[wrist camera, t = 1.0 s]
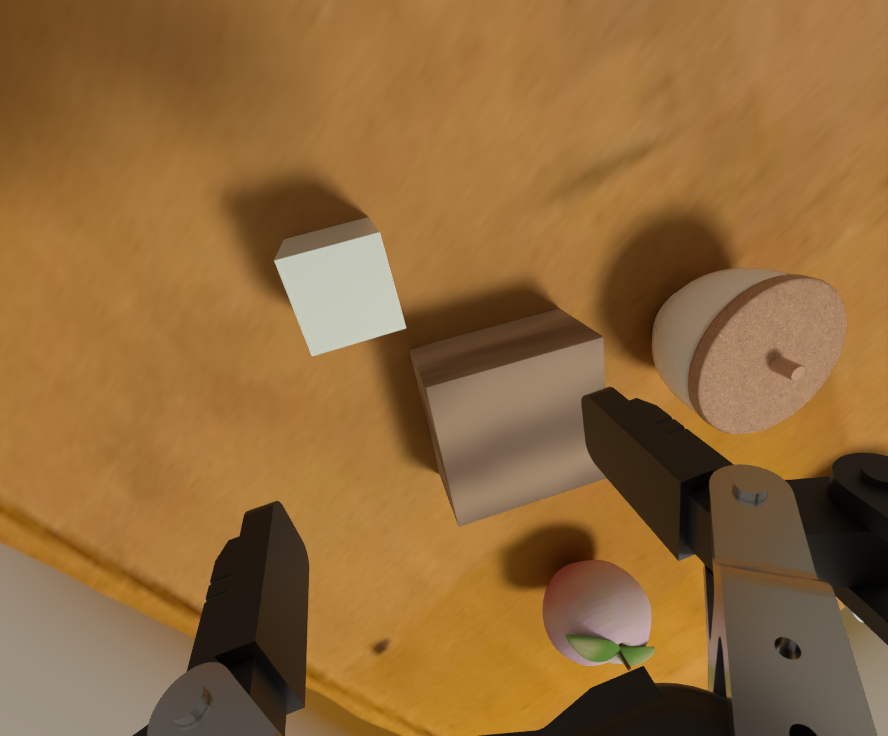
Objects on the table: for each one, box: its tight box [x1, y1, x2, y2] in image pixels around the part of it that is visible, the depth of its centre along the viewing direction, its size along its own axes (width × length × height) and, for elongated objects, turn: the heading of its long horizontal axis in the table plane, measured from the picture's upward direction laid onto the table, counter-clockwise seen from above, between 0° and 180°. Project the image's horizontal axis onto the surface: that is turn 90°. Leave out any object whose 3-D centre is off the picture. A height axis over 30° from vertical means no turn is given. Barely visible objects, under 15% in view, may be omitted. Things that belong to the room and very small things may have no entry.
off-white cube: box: [274, 217, 406, 356], centre depth 25 cm, size 5×5×6 cm
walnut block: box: [409, 308, 606, 526], centre depth 31 cm, size 11×11×6 cm
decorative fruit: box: [543, 560, 655, 670], centre depth 40 cm, size 9×8×10 cm
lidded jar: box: [652, 268, 847, 434], centre depth 31 cm, size 11×11×9 cm
